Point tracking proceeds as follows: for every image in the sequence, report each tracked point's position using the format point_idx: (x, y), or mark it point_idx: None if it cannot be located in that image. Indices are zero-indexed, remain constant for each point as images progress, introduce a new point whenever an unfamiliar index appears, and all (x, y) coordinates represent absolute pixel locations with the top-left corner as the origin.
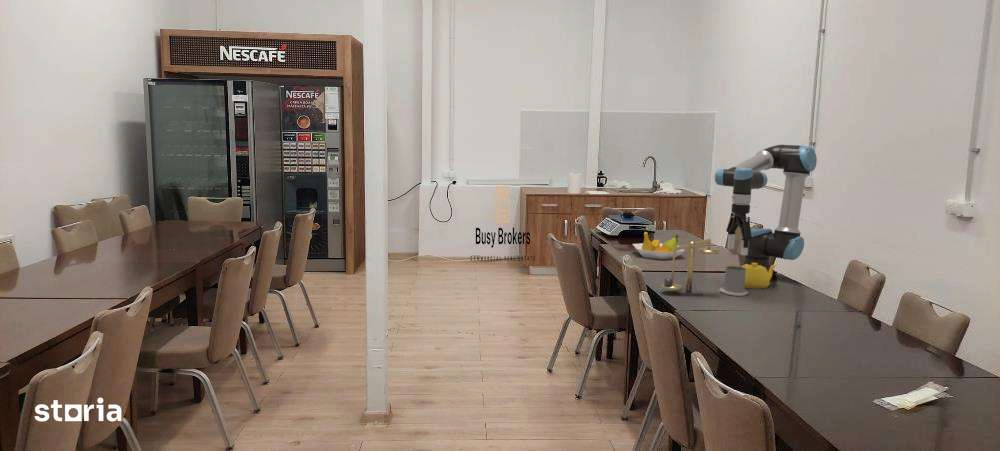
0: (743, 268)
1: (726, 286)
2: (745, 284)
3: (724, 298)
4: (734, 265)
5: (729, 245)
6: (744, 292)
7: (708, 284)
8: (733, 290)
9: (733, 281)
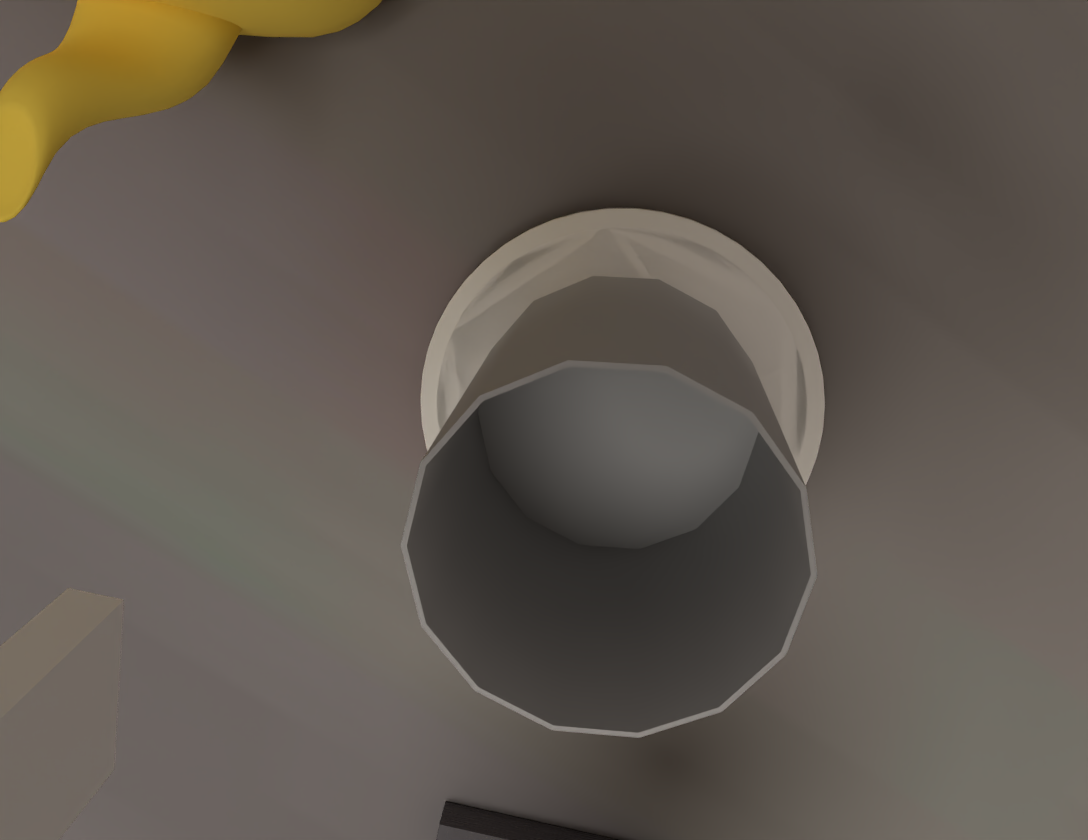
0: (611, 366)
1: (621, 569)
2: (357, 21)
3: (844, 691)
4: (45, 169)
5: (52, 823)
6: (769, 339)
7: (121, 454)
8: (725, 507)
9: (729, 574)
